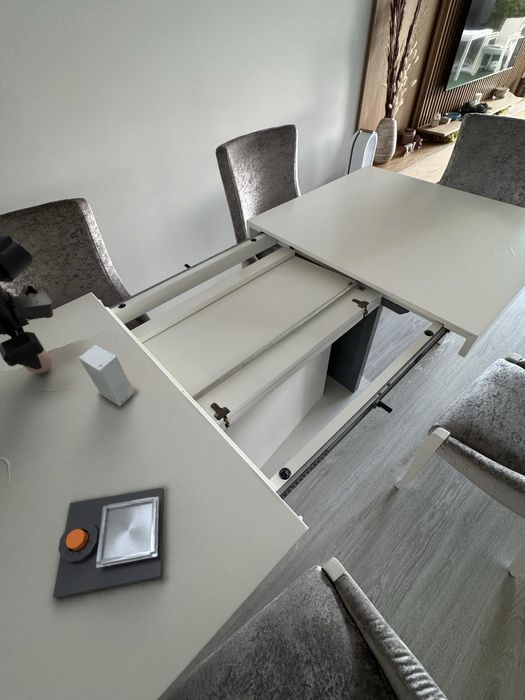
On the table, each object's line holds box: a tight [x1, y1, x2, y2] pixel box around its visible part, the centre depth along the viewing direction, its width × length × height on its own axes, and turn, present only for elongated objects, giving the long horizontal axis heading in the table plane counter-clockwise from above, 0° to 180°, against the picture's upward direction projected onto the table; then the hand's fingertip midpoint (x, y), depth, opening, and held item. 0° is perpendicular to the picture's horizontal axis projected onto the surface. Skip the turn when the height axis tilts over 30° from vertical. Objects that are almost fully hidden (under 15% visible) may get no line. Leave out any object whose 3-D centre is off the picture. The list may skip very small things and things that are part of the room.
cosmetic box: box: [78, 344, 135, 407], centre depth 69 cm, size 6×4×12 cm
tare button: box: [66, 529, 88, 550], centre depth 52 cm, size 3×3×2 cm
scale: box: [52, 487, 165, 599], centre depth 54 cm, size 15×13×3 cm
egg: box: [24, 349, 53, 375], centre depth 75 cm, size 5×5×7 cm
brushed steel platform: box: [96, 497, 159, 568], centre depth 53 cm, size 9×9×1 cm
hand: (32, 355), depth 73 cm, fingers open, 9 cm apart
